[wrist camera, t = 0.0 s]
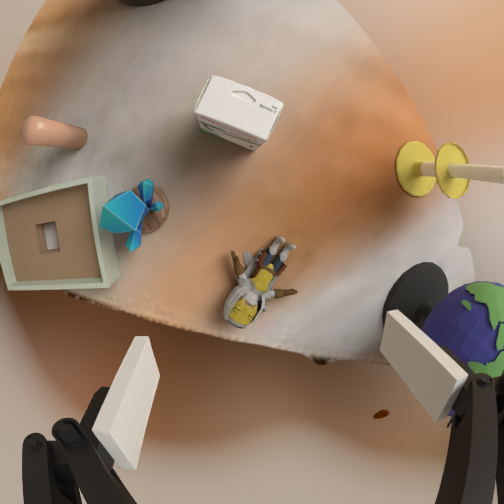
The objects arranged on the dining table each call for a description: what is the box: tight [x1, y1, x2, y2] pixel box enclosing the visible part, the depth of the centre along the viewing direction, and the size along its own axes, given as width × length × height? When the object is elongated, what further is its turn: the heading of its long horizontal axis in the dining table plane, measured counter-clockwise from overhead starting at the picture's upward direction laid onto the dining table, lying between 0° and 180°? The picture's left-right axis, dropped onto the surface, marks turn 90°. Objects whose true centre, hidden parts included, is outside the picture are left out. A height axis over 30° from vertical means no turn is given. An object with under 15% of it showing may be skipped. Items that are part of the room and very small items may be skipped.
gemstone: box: [99, 178, 169, 252], centre depth 33 cm, size 7×9×12 cm
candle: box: [396, 141, 504, 199], centre depth 27 cm, size 10×10×27 cm
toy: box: [223, 236, 298, 328], centre depth 41 cm, size 12×5×15 cm
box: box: [0, 176, 120, 290], centre depth 35 cm, size 16×24×5 cm, turn 93°
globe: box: [382, 262, 504, 417], centre depth 33 cm, size 22×22×30 cm
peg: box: [21, 116, 87, 150], centre depth 28 cm, size 4×4×13 cm
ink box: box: [194, 75, 284, 151], centre depth 31 cm, size 9×5×12 cm, turn 67°
